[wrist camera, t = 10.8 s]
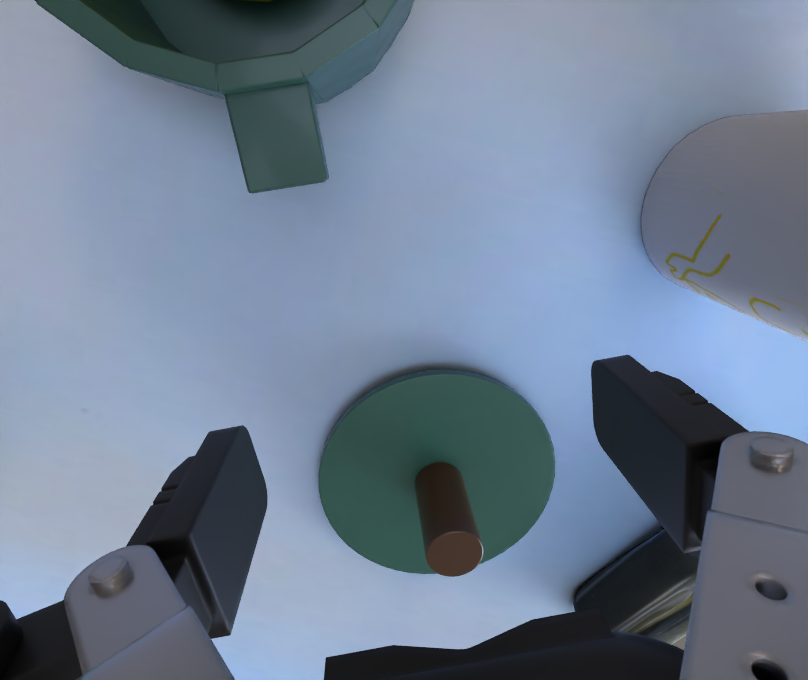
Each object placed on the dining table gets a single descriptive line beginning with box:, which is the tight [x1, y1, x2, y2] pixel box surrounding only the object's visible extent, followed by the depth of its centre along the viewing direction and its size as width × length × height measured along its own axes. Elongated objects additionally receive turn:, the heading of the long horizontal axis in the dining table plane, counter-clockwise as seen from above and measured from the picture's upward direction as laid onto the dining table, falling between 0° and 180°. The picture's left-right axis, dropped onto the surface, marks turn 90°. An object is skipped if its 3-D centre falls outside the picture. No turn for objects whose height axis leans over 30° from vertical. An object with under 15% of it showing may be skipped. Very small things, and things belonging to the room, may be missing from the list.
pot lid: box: [319, 370, 555, 576], centre depth 26 cm, size 13×13×6 cm
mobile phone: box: [574, 529, 701, 644], centre depth 29 cm, size 5×3×15 cm
